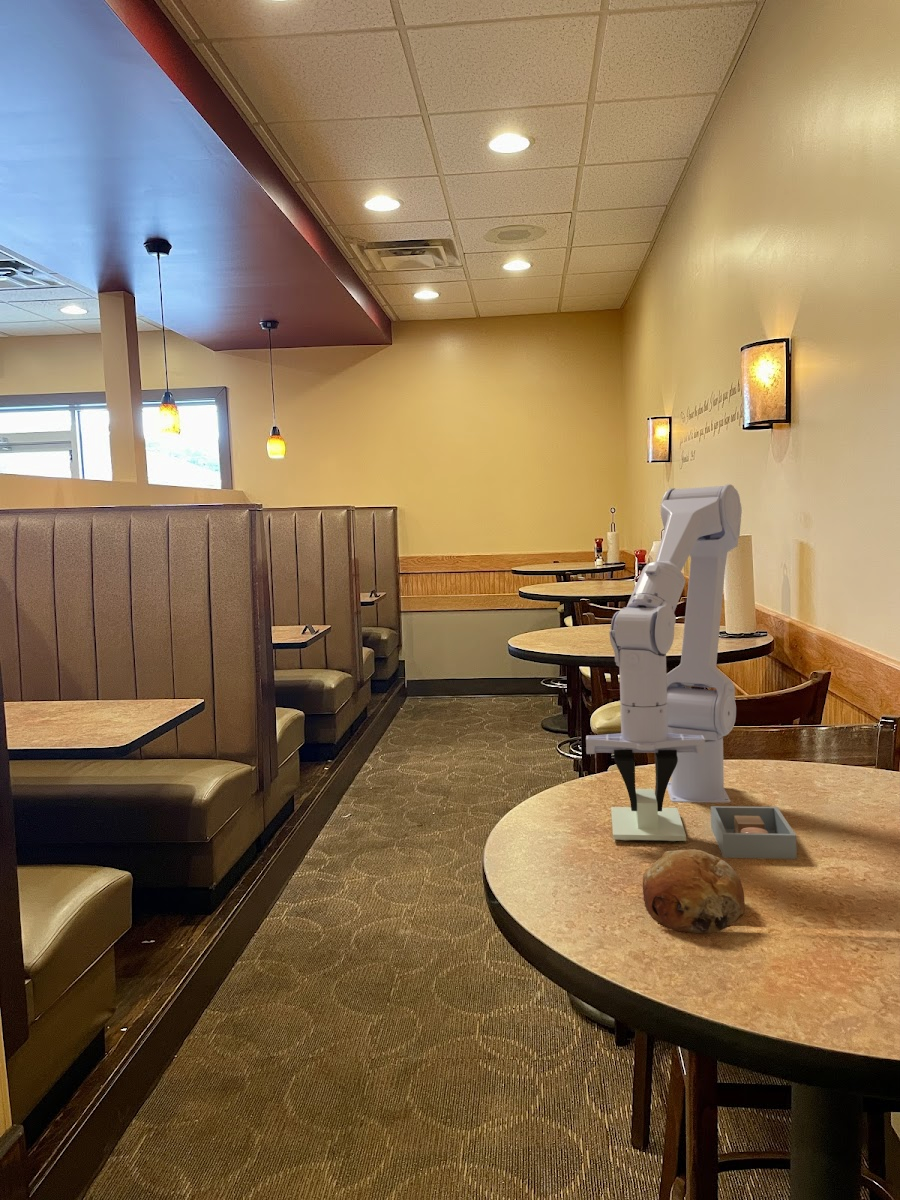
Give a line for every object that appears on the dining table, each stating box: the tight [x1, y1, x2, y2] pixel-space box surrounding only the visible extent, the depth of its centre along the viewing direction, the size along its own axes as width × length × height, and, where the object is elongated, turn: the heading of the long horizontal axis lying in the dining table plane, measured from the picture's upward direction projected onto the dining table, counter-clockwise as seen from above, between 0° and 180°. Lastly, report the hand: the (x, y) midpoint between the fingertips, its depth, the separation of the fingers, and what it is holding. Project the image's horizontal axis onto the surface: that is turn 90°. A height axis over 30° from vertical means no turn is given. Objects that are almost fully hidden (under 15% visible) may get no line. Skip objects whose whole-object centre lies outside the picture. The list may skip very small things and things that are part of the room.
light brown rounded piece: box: [741, 827, 768, 833], centre depth 100 cm, size 3×3×2 cm
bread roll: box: [642, 848, 746, 934], centre depth 85 cm, size 10×10×8 cm
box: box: [710, 805, 798, 860], centre depth 102 cm, size 10×8×3 cm
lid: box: [610, 788, 687, 842], centre depth 108 cm, size 11×9×5 cm
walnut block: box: [734, 816, 764, 833], centre depth 103 cm, size 3×3×2 cm
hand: (646, 808), depth 107 cm, fingers closed on lid, 2 cm apart
